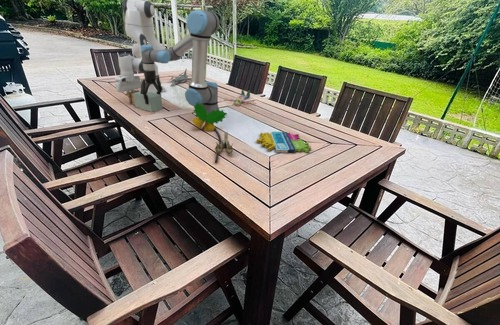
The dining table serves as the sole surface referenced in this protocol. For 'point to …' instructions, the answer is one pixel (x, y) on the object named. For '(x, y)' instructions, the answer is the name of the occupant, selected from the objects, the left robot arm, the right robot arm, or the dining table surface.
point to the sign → (283, 142)
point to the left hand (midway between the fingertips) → (130, 96)
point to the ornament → (207, 117)
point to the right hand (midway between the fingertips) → (153, 102)
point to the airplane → (180, 78)
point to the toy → (241, 99)
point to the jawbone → (224, 145)
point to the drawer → (131, 96)
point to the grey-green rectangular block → (153, 100)
